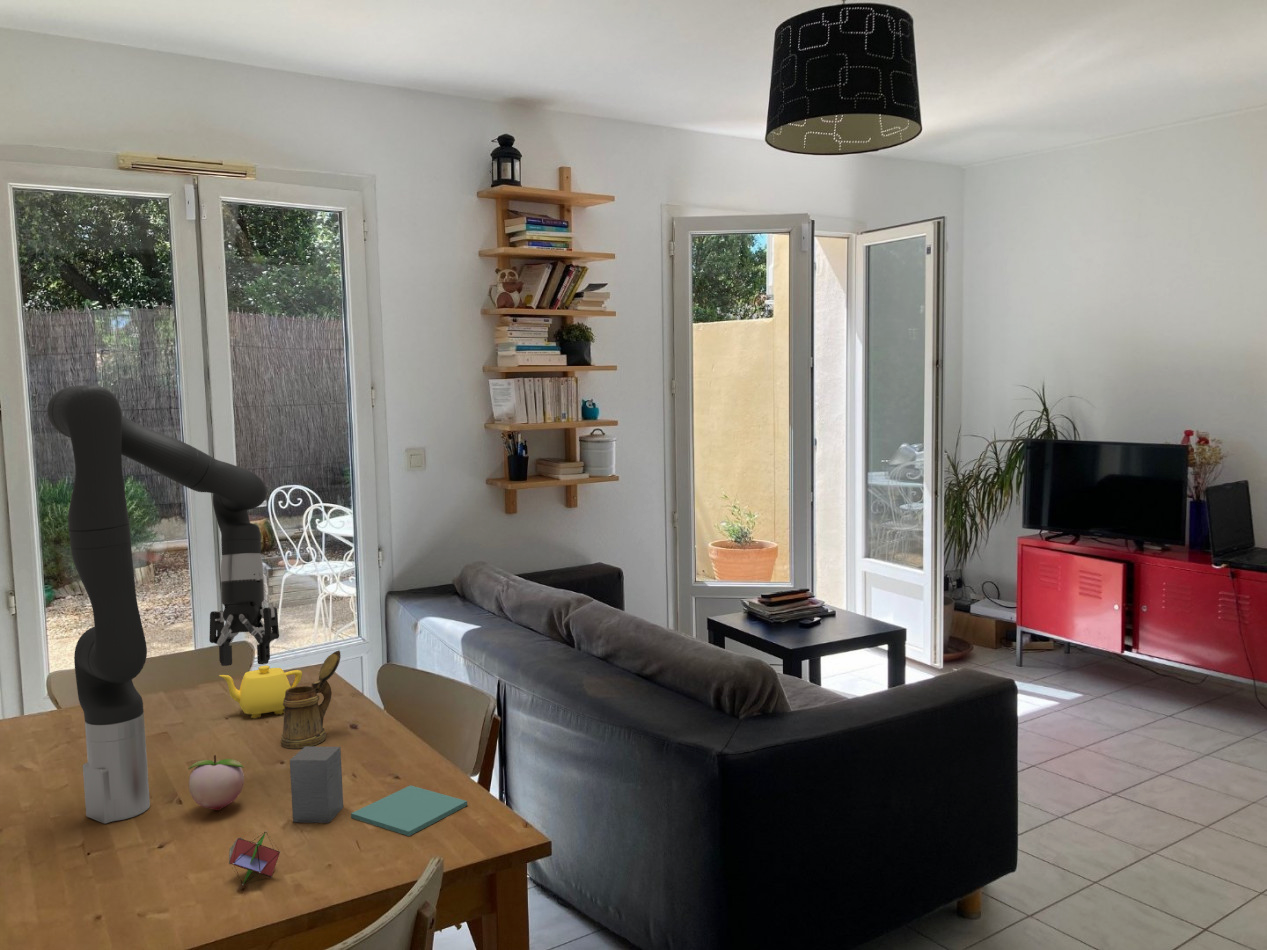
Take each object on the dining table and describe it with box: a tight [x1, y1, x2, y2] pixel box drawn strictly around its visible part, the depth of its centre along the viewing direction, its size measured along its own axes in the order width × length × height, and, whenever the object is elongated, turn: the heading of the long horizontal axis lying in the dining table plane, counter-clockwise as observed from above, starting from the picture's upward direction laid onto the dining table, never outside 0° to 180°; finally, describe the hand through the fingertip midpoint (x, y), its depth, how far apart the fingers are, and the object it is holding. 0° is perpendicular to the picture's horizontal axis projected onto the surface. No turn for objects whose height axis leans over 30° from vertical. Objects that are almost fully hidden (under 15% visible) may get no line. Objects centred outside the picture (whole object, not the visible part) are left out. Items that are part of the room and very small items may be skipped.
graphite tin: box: [289, 746, 344, 824], centre depth 173 cm, size 6×6×11 cm
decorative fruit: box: [187, 754, 245, 811], centre depth 175 cm, size 9×8×10 cm
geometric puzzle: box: [228, 830, 281, 886], centre depth 151 cm, size 7×7×8 cm
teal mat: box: [350, 785, 468, 837], centre depth 174 cm, size 14×14×1 cm
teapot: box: [218, 665, 303, 719], centre depth 230 cm, size 18×11×11 cm, turn 116°
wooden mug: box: [280, 650, 342, 750], centre depth 211 cm, size 9×14×18 cm, turn 128°
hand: (244, 664), depth 187 cm, fingers open, 8 cm apart
